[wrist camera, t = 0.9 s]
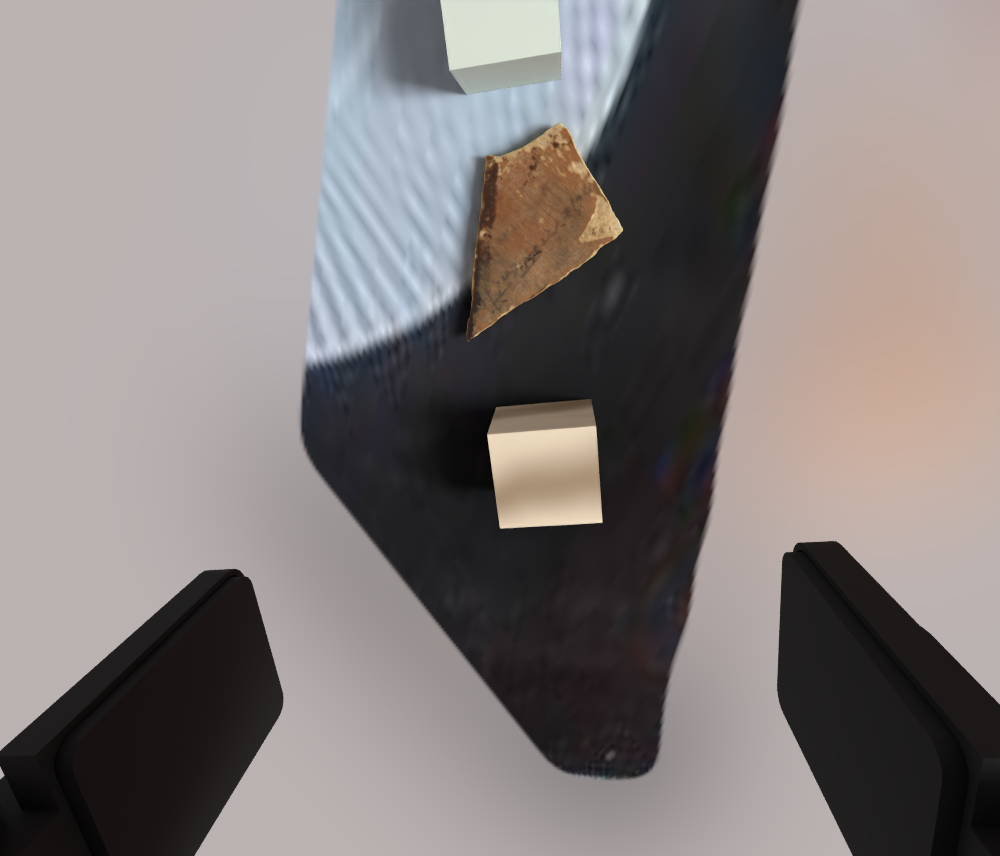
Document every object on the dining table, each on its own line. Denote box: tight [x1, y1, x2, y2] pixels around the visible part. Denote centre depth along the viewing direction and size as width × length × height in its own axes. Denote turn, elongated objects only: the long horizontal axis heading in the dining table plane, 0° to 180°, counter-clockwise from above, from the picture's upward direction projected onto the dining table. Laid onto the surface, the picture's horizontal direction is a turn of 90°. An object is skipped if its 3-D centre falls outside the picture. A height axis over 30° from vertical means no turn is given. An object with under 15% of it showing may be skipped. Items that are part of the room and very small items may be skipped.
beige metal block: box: [487, 399, 602, 528], centre depth 33 cm, size 6×6×5 cm
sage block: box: [440, 0, 561, 95], centre depth 26 cm, size 5×5×5 cm
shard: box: [467, 123, 623, 341], centre depth 31 cm, size 11×8×2 cm
